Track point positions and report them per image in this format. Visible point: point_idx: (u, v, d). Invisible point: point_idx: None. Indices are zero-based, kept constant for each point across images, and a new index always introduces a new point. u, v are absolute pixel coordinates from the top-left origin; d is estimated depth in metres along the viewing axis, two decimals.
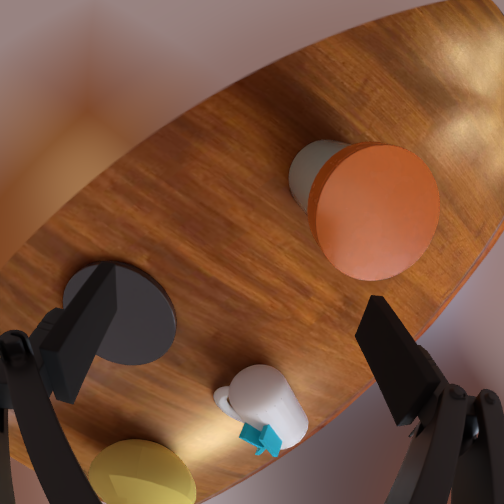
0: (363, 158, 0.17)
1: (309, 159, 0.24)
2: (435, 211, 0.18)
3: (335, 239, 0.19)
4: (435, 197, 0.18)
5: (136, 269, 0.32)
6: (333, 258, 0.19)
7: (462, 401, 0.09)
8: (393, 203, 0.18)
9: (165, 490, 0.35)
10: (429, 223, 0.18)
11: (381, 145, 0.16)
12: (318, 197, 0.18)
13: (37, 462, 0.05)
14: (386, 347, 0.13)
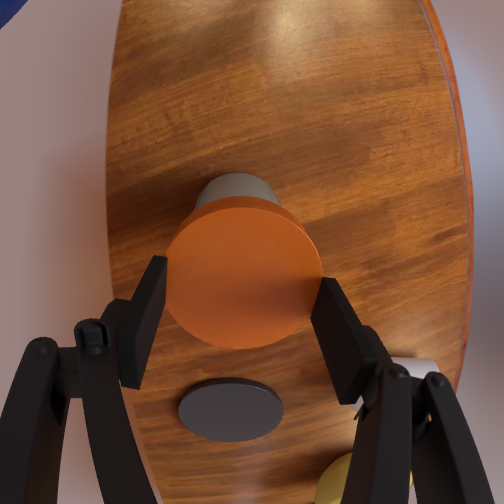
0: (169, 277, 0.16)
1: None
2: (282, 225, 0.16)
3: (231, 336, 0.18)
4: (265, 217, 0.15)
5: (205, 383, 0.36)
6: (248, 345, 0.19)
7: (405, 379, 0.10)
8: (235, 271, 0.16)
9: None
10: (291, 239, 0.16)
11: (166, 252, 0.16)
12: None
13: (96, 447, 0.06)
14: (332, 326, 0.14)
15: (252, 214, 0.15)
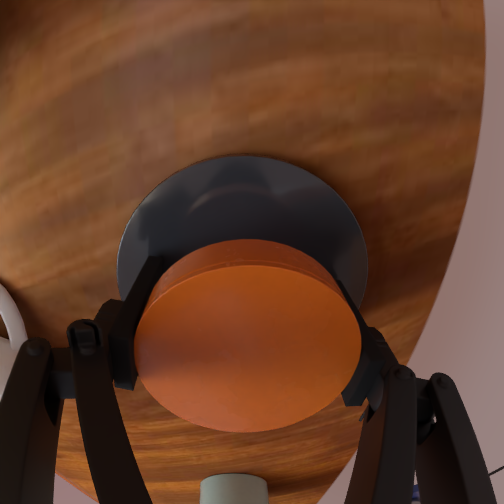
0: (277, 283, 0.10)
1: None
2: (325, 399, 0.12)
3: (158, 353, 0.11)
4: (339, 386, 0.12)
5: None
6: (143, 370, 0.11)
7: (410, 381, 0.10)
8: (274, 363, 0.11)
9: None
10: (306, 407, 0.13)
11: (320, 283, 0.10)
12: (168, 287, 0.10)
13: (90, 448, 0.06)
14: None
15: (346, 376, 0.12)
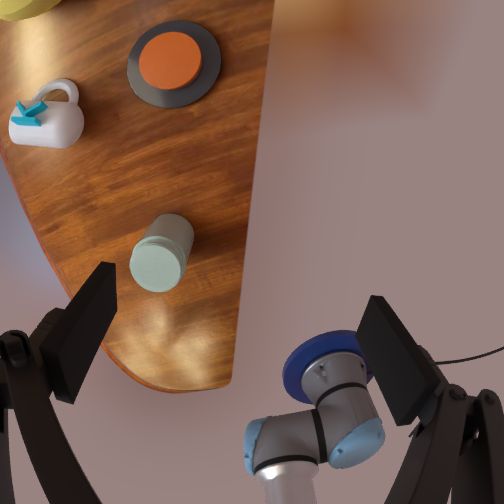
0: (176, 35, 0.35)
1: (189, 240, 0.46)
2: (192, 72, 0.38)
3: (146, 57, 0.36)
4: (196, 66, 0.37)
5: (192, 102, 0.42)
6: (141, 63, 0.36)
7: (462, 401, 0.09)
8: (176, 57, 0.37)
9: (22, 3, 0.24)
10: (187, 75, 0.38)
11: None
12: (152, 39, 0.35)
13: (37, 462, 0.05)
14: (386, 347, 0.13)
15: (197, 62, 0.37)
